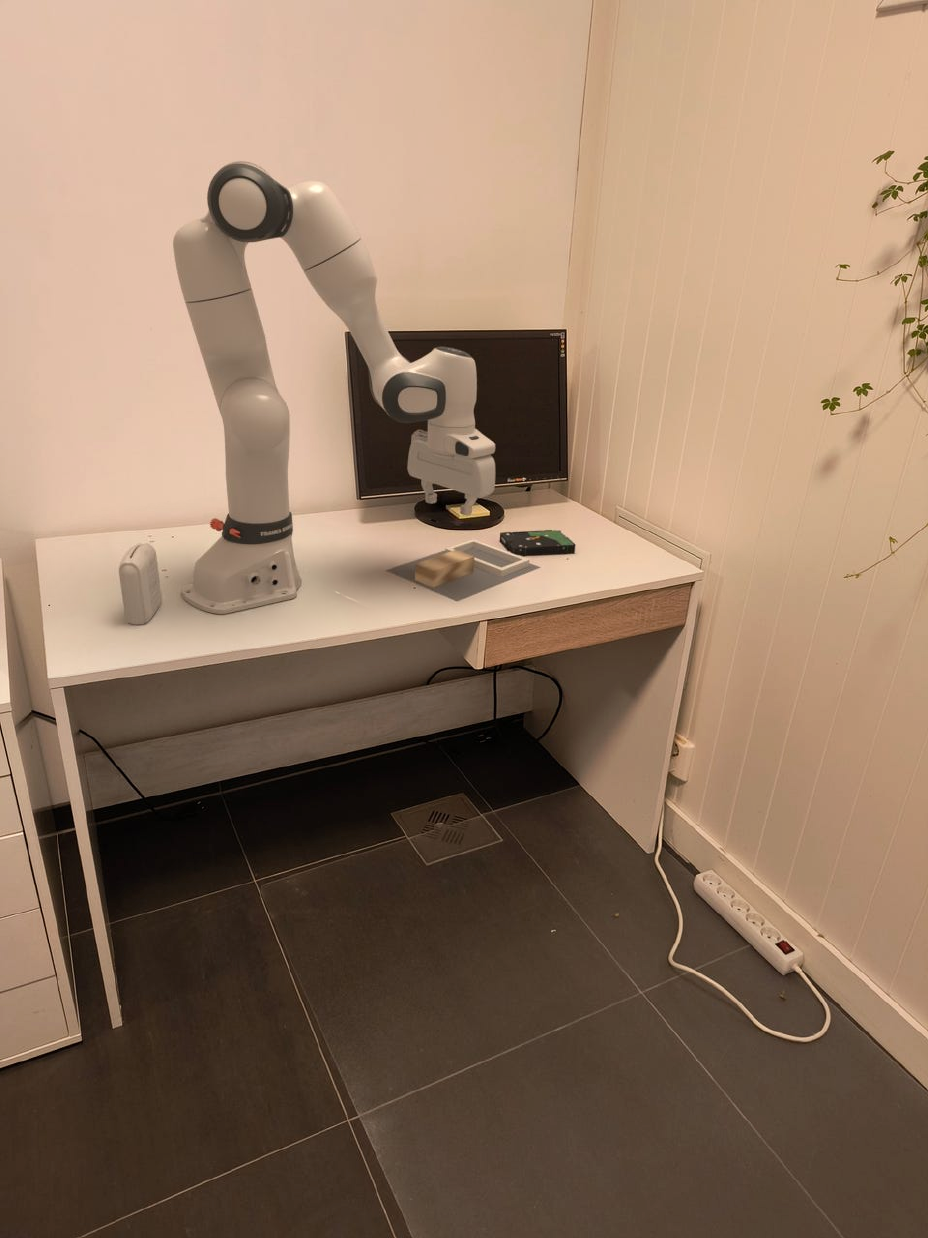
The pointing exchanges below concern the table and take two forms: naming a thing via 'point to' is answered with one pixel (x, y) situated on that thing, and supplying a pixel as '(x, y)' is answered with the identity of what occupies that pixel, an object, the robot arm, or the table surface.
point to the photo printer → (140, 583)
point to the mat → (487, 573)
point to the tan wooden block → (444, 568)
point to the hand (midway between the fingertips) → (448, 508)
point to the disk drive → (537, 543)
